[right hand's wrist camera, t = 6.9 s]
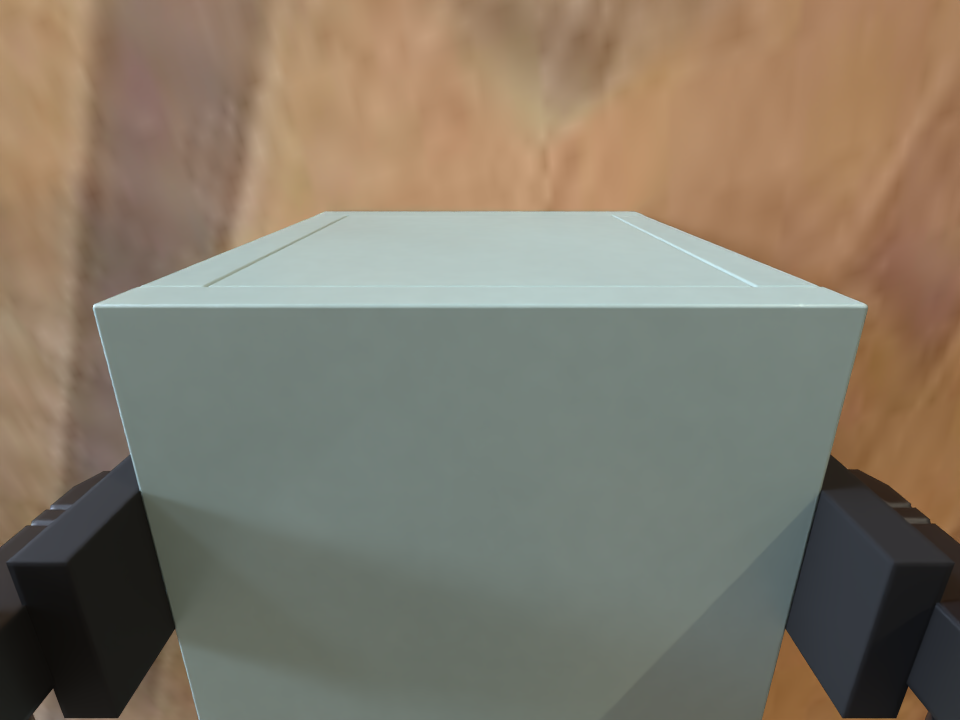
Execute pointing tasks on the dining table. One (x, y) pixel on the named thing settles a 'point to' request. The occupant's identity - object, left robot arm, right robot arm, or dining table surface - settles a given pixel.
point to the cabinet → (480, 465)
